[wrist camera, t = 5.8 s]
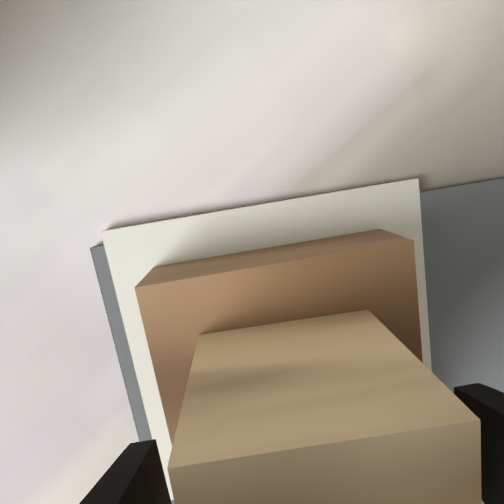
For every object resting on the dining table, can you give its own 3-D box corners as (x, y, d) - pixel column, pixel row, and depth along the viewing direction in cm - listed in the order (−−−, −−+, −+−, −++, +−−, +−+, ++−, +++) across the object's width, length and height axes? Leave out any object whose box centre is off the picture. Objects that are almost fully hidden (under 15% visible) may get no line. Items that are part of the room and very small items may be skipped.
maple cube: (379, 456, 12) (483, 655, 7) (224, 480, 12) (216, 700, 7) (368, 309, 11) (480, 419, 6) (198, 334, 11) (167, 467, 6)
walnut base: (397, 427, 14) (431, 478, 12) (197, 462, 14) (189, 521, 12) (379, 228, 13) (413, 240, 10) (154, 266, 13) (134, 287, 10)
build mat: (538, 570, 17) (546, 579, 16) (192, 632, 16) (191, 644, 16) (536, 158, 13) (546, 157, 13) (90, 232, 13) (85, 234, 12)
